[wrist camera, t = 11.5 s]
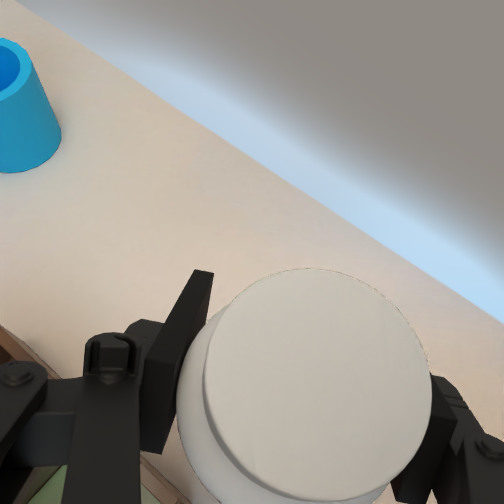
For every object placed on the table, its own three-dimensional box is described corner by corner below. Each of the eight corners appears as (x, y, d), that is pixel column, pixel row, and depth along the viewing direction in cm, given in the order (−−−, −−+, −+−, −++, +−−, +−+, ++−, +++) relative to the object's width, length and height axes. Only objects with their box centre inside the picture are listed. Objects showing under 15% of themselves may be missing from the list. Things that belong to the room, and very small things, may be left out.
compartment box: (192, 504, 30) (189, 509, 26) (88, 642, 27) (62, 677, 22) (23, 341, 34) (-7, 319, 30) (-88, 441, 31) (-143, 434, 26)
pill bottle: (361, 419, 19) (520, 356, 9) (274, 551, 17) (367, 651, 7) (252, 328, 21) (290, 191, 11) (156, 436, 18) (96, 386, 8)
